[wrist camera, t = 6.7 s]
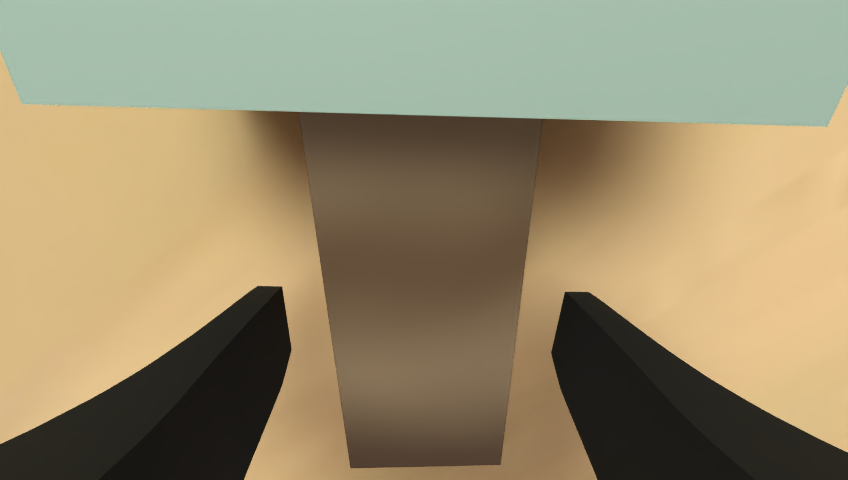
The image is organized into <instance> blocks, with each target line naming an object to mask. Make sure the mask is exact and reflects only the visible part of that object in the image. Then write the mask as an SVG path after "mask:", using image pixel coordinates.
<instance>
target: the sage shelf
mask: <svg viewBox="0 0 848 480" xmlns="http://www.w3.org/2000/svg"><path fill="white" fill-rule="evenodd" d="M0 51H1V54H2V56H3V59H4V61H5V64H6V66H7V69H8V71H9V74H10V76H11V79H12V81H13V83H14V86H15V88H16V91H17V93H18V96H19V98H20V101H21V103H22V104H41V105H76V106H112V107H147V108H183V109H218V110H254V111H289V112H325V113H360V114H396V115H431V116H467V117H502V118H538V119H573V120H609V121H644V122H680V123H715V124H751V125H786V126H822V127H827V126H828V124H829V122H830V120H831V118H832V116H833V113H834V111H835V109H836V107H837V105H838V103H839V101H840V99H841V97H842V95H843V93H844V91H845V88H846V86H847V84H848V0H0Z"/></svg>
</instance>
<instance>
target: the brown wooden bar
mask: <svg viewBox="0 0 848 480" xmlns="http://www.w3.org/2000/svg"><path fill="white" fill-rule="evenodd" d="M299 119H300V126H301V133H302V140H303V146H304V153H305V160H306V167H307V174H308V181H309V187H310V194H311V201H312V208H313V215H314V221H315V228H316V235H317V242H318V249H319V256H320V262H321V269H322V276H323V283H324V290H325V297H326V303H327V310H328V317H329V324H330V331H331V337H332V344H333V351H334V358H335V365H336V372H337V378H338V385H339V392H340V399H341V406H342V413H343V419H344V426H345V433H346V440H347V447H348V453H349V460H350V467H351V468H380V467H424V466H468V465H501V457H502V448H503V440H504V432H505V424H506V416H507V407H508V399H509V391H510V383H511V374H512V366H513V358H514V350H515V342H516V333H517V325H518V317H519V309H520V300H521V292H522V284H523V276H524V268H525V259H526V251H527V243H528V235H529V226H530V218H531V210H532V202H533V194H534V185H535V177H536V169H537V161H538V152H539V144H540V136H541V128H542V120H543V119H538V118H502V117H467V116H431V115H396V114H360V113H325V112H299Z"/></svg>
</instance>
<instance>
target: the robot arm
mask: <svg viewBox="0 0 848 480" xmlns="http://www.w3.org/2000/svg"><path fill="white" fill-rule="evenodd" d="M290 353H291V343H290V336H289V329H288V323H287V316H286V310H285V303H284V297H283V290H282V287H274V286H257V287H256V288H254V289H253V290H251V291H250V292H249V293H247V294H246V295H245V296H243V297H242V298H241V299H239V300H238V301H237V302H235V303H234V304H233V305H232V306H230V307H229V308H228V309H226V310H225V311H224V312H222V313H221V314H220V315H218V316H217V317H216V318H214V319H213V320H212V321H210V322H209V323H208V324H206V325H205V326H204V327H202V328H201V329H200V330H198V331H197V332H196V333H194V334H193V335H192V336H190V337H189V338H187V339H186V340H184V341H183V342H181V343H180V344H179V345H177V346H176V347H174V348H173V349H171V350H170V351H168V352H167V353H165V354H164V355H163V356H161V357H160V358H158V359H157V360H155V361H154V362H152V363H151V364H149V365H148V366H146V367H144V368H143V369H141V370H140V371H138V372H136V373H135V374H133V375H132V376H130V377H128V378H127V379H125V380H123V381H121V382H120V383H118V384H116V385H115V386H113V387H111V388H110V389H108V390H106V391H104V392H103V393H101V394H99V395H97V396H95V397H94V398H92V399H90V400H88V401H86V402H84V403H82V404H80V405H78V406H77V407H75V408H73V409H71V410H69V411H67V412H65V413H63V414H61V415H59V416H57V417H55V418H53V419H51V420H49V421H47V422H46V423H44V424H42V425H40V426H38V427H36V428H34V429H32V430H30V431H28V432H26V433H23V434H21V435H19V436H17V437H15V438H13V439H11V440H8V441H6V442H4V443H2V444H0V480H244V478H245V475H246V473H247V470H248V468H249V465H250V463H251V460H252V458H253V455H254V453H255V451H256V448H257V446H258V443H259V441H260V438H261V436H262V434H263V431H264V429H265V426H266V424H267V421H268V419H269V417H270V414H271V412H272V409H273V407H274V404H275V402H276V399H277V397H278V394H279V392H280V389H281V387H282V383H283V380H284V376H285V373H286V369H287V365H288V361H289V357H290ZM551 354H552V358H553V362H554V366H555V370H556V374H557V377H558V381H559V385H560V388H561V391H562V393H563V396H564V399H565V401H566V404H567V406H568V409H569V411H570V413H571V416H572V418H573V421H574V423H575V426H576V428H577V431H578V433H579V435H580V438H581V440H582V443H583V445H584V447H585V450H586V452H587V455H588V457H589V460H590V462H591V464H592V467H593V469H594V472H595V474H596V477H597V480H848V453H847V452H845V451H843V450H841V449H839V448H837V447H835V446H833V445H830V444H828V443H826V442H824V441H822V440H820V439H818V438H816V437H814V436H812V435H810V434H808V433H806V432H804V431H802V430H800V429H798V428H797V427H795V426H793V425H791V424H789V423H787V422H785V421H783V420H781V419H779V418H777V417H775V416H773V415H772V414H770V413H768V412H766V411H764V410H762V409H761V408H759V407H757V406H755V405H753V404H752V403H750V402H748V401H746V400H745V399H743V398H741V397H740V396H738V395H736V394H735V393H733V392H731V391H729V390H728V389H726V388H724V387H723V386H721V385H719V384H718V383H716V382H715V381H713V380H711V379H710V378H708V377H707V376H705V375H703V374H702V373H700V372H699V371H697V370H696V369H694V368H693V367H691V366H690V365H688V364H687V363H685V362H684V361H682V360H681V359H680V358H678V357H677V356H675V355H674V354H672V353H671V352H669V351H668V350H667V349H665V348H664V347H662V346H661V345H660V344H658V343H657V342H655V341H654V340H653V339H651V338H650V337H649V336H647V335H646V334H645V333H643V332H642V331H641V330H639V329H638V328H637V327H635V326H634V325H633V324H631V323H630V322H629V321H627V320H626V319H625V318H623V317H622V316H621V315H619V314H618V313H617V312H616V311H614V310H613V309H612V308H610V307H609V306H608V305H606V304H605V303H604V302H602V301H601V300H599V299H598V298H597V297H595V296H594V295H592V294H591V293H589V292H565V295H564V299H563V303H562V308H561V312H560V317H559V321H558V326H557V330H556V334H555V339H554V343H553V348H552V352H551Z"/></svg>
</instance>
